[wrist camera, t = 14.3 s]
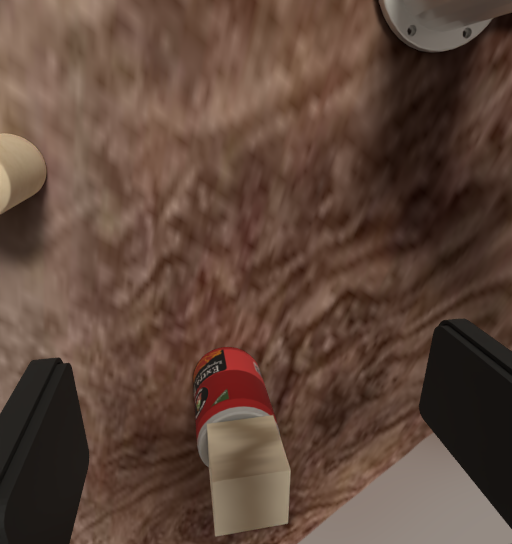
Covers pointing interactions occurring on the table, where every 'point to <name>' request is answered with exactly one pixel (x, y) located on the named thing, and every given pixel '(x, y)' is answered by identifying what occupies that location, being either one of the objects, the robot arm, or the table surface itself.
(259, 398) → the canned food
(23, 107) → the table surface
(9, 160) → the candle
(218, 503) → the birch block
